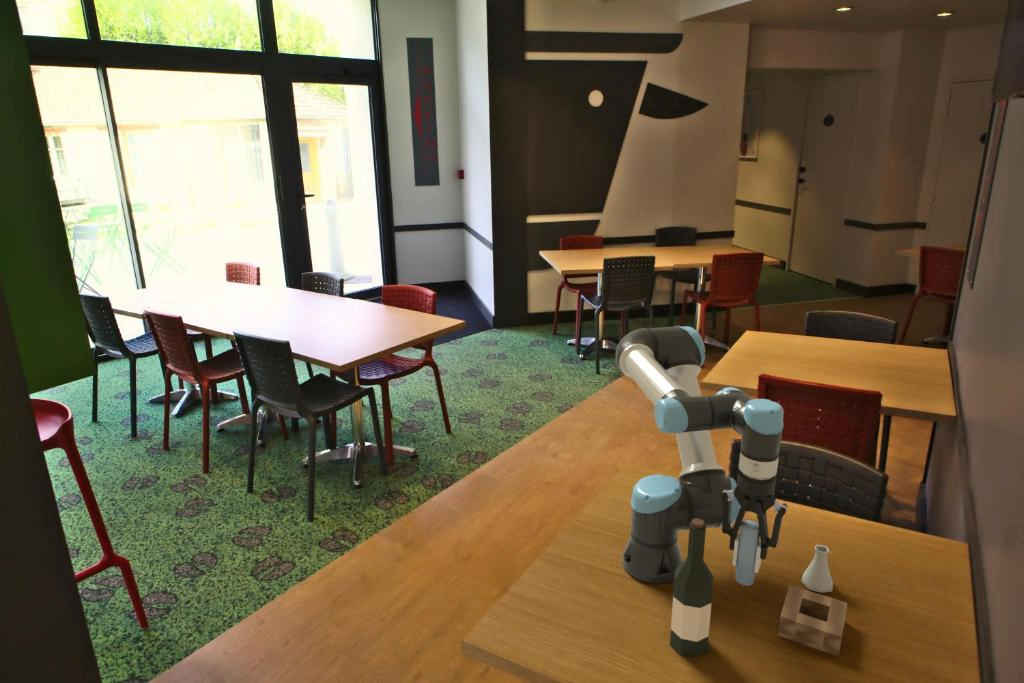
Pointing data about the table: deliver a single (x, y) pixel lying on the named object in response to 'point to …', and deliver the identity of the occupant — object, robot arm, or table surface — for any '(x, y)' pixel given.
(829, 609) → the bore block
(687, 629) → the wine bottle
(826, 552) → the flask
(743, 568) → the dowel
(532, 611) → the table surface
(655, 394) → the robot arm
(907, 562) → the table surface
